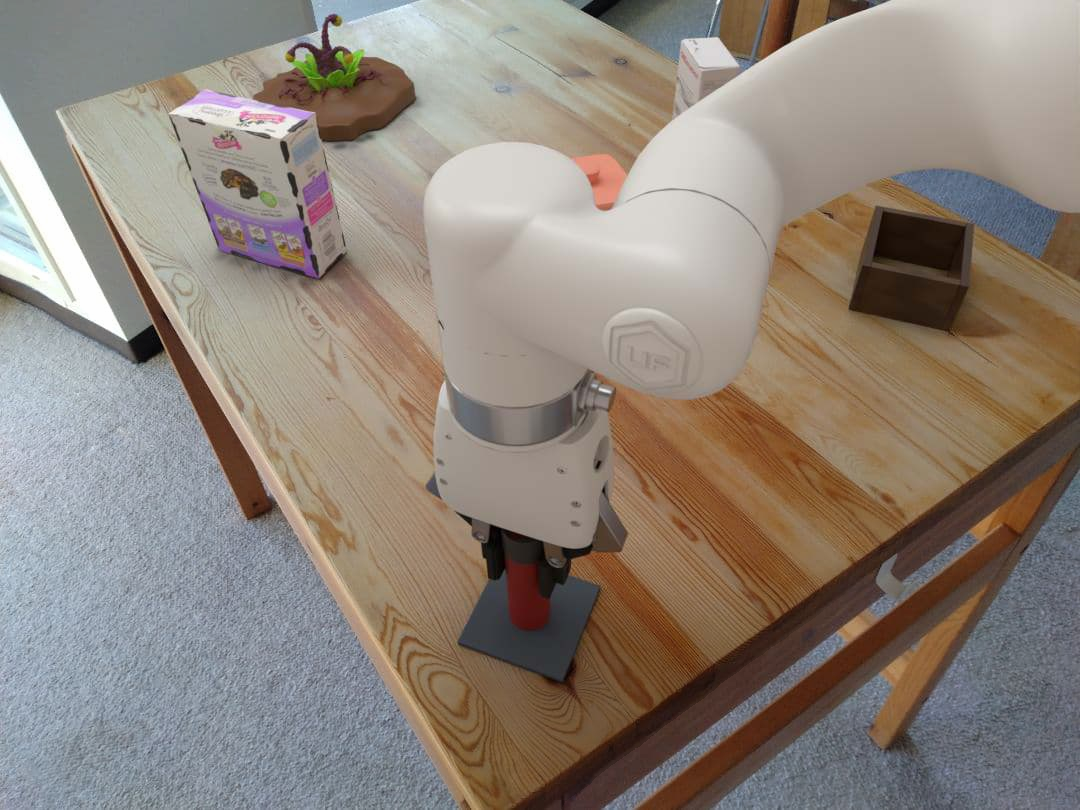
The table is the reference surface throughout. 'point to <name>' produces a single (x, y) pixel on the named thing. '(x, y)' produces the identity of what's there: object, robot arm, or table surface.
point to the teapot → (603, 178)
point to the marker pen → (524, 580)
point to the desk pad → (536, 648)
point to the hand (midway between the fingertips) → (527, 570)
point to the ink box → (702, 71)
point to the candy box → (262, 180)
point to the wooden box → (908, 289)
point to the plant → (340, 88)
